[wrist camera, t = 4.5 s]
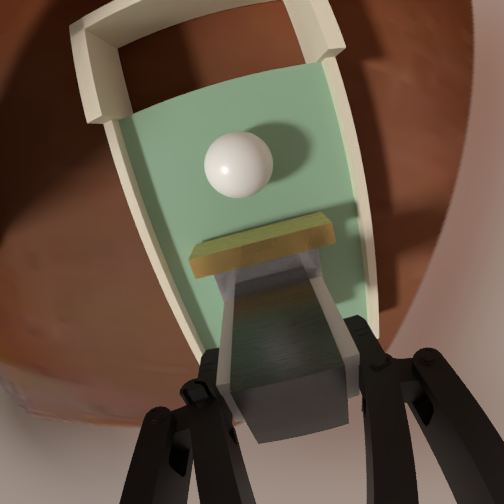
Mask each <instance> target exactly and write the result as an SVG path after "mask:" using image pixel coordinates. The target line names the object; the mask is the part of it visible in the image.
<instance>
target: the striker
mask: <svg viewBox="0 0 504 504" xmlns="http://www.w3.org/2000/svg"><path fill="white" fill-rule="evenodd" d="M333 243H336V241H335V235H334V230H333V224H332V222H331V221H330V220H329V219H328V218H327V217H326V216H325V215H324V214H323V213H322V212H321V211H320V212H316V213H313V214H309V215H305V216H301V217H297V218H293V219H289V220H285V221H281V222H278V223H274V224H270V225H266V226H262V227H259V228H255V229H251V230H247V231H244V232H240V233H236V234H232V235H229V236H225V237H221V238H218V239H214V240H210V241H207V242H203V243H200V244H196V245H195V246H194V248H193V251H192V253H191V255H190V257H189V260H188V261H189V263H190V266H191V269H192V271H193V274H194V276H195V279H198V278H202V277H206V276H210V275H214V277H215V280H216V282H217V285H218V288H219V291H220V293H221V296H222V299H223V301H225V299H227V298H232V297H234V311H233V330H232V350H231V372H230V394H231V395H232V397H233V399H234V401H235V403H236V405H237V407H238V408H239V410H240V412H241V414H242V416H243V418H244V419H245V421H246V423H247V425H248V426H249V428H250V430H251V432H252V433H253V435H254V437H255V439H256V440H257V442H258V444H260V443H265V442H272V441H278V440H283V439H289V438H293V437H298V436H303V435H307V434H312V433H315V432H320V431H324V430H328V429H331V428H335V427H339V426H342V425H345V424H348V423H349V421H348V420H349V418H348V399H347V384H346V371H345V364H344V362H343V359H342V357H341V354H340V352H339V349H338V347H337V344H336V342H335V339H334V337H333V334H332V332H331V329H330V327H329V325H328V322H327V320H326V317H325V315H324V313H323V310H322V308H321V305H320V303H319V301H318V298H317V296H316V294H315V291H314V289H313V287H312V284H311V282H310V280H309V279H313V278H317V277H322V279H323V274H322V268H321V262H320V257H319V252H318V247H322V246H326V245H329V244H333ZM323 281H324V279H323Z"/></svg>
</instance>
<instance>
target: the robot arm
mask: <svg viewBox="0 0 504 504" xmlns="http://www.w3.org/2000/svg"><path fill="white" fill-rule="evenodd" d="M309 280H310V282H311V284H312V287H313V289H314V291H315V294H316V296H317V298H318V301H319V303H320V305H321V308H322V310H323V313H324V315H325V317H326V320H327V322H328V325H329V327H330V329H331V332H332V334H333V337H334V339H335V342H336V344H337V347H338V349H339V352H340V354H341V357H342V359H343V362H344V364H345V371H346V384H347V399H348V398H351V397H354V396H358V395H359V389H360V391H361V394H362V411H363V418H364V430H365V446H366V469H367V470H366V471H367V504H419V502H418V491H417V480H416V472H415V463H414V456H413V449H412V443H411V436H410V431H409V425H408V420H407V415H406V410H405V405H404V403H407V404H408V405H409V407H410V409H411V411H412V413H413V415H414V417H415V418H416V420H417V422H418V424H419V426H420V428H421V430H422V432H423V434H424V435H425V437H426V439H427V441H428V443H429V445H430V447H431V449H432V451H433V453H434V455H435V457H436V459H437V461H438V463H439V465H440V467H441V469H442V471H443V474H444V476H445V478H446V480H447V482H448V484H449V486H450V488H451V491H452V493H453V495H454V497H455V500H456V502H457V504H504V441H503V440H502V438H501V437H500V435H499V434H498V432H497V431H496V429H495V427H494V426H493V424H492V423H491V421H490V420H489V418H488V417H487V415H486V414H485V412H484V411H483V410H482V408H481V407H480V405H479V404H478V402H477V401H476V400H475V398H474V397H473V395H472V394H471V393H470V391H469V390H468V389H467V387H466V386H465V384H464V383H463V382H462V380H461V379H460V378H459V376H458V375H457V374H456V372H455V371H454V370H453V368H452V367H451V366H450V365H449V363H448V362H447V361H446V359H445V358H444V357H443V356H442V354H441V353H440V352H439V351H437V350H436V349H433V348H423V349H420V350H419V351H417V352H416V353H415V354H414V356H413V358H406V359H396V358H392V356H390V355H389V354H387V353H385V352H384V351H383V349H382V347H381V345H380V344H379V342H378V340H377V338H376V337H375V335H374V333H373V332H372V330H371V328H370V327H369V325H368V323H367V321H366V320H365V319H364V318H362V317H361V316H359V315H355V316H351V317H348V318H344V319H343V318H342V316H341V314H340V312H339V310H338V308H337V306H336V304H335V302H334V300H333V298H332V296H331V294H330V292H329V290H328V288H327V286H326V285H325V283H324V281H323V279H322V277H317V278H313V279H309ZM233 311H234V297H232V298H227V299H225V301H224V310H223V319H222V329H221V338H220V347H219V348H213V349H207V350H206V351H205V352H204V354H203V355H202V357H201V361H200V367H199V373H198V378H197V379H192V380H190V381H188V382H187V383H185V384H184V385H183V386H182V388H181V390H180V395H181V397H182V398H183V400H184V401H185V403H186V404H187V405H186V406H184V407H181V408H179V409H176V410H173V411H170V410H169V409H168V408H166V407H161V406H160V407H155V408H153V409H151V410H150V411H149V412H148V413H147V414H146V416H145V418H144V421H143V424H142V427H141V430H140V433H139V437H138V440H137V443H136V447H135V450H134V453H133V457H132V460H131V464H130V467H129V471H128V474H127V477H126V481H125V485H124V489H123V492H122V496H121V500H120V503H119V504H187V499H188V491H189V484H190V477H191V471H192V464H193V460H194V467H195V473H196V480H197V487H198V492H199V499H200V504H256V502H255V498H254V496H253V492H252V489H251V485H250V482H249V479H248V475H247V472H246V468H245V464H244V461H243V457H242V454H241V450H240V446H239V442H238V439H237V435H236V431H235V428H234V427H233V425H232V416H233V418H234V420H235V422H237V421H244V420H245V419H244V418H243V416H242V414H241V412H240V410H239V408H238V407H237V405H236V403H235V401H234V399H233V397H232V395H231V394H230V372H231V350H232V330H233Z"/></svg>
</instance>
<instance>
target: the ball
mask: <svg viewBox="0 0 504 504" xmlns="http://www.w3.org/2000/svg"><path fill="white" fill-rule="evenodd" d="M204 169H205V174H206V177H207V179H208V181H209V183H210V184H211V186H212V187H213V188H214V189H215V190H216V191H218V192H219V193H221V194H223V195H225V196H227V197H231V198H246V197H250V196H252V195H254V194H256V193H258V192H259V191H261V190H262V189H263V188H264V187H265V186H266V184H267V183H268V181H269V179H270V177H271V175H272V171H273V158H272V154H271V152H270V150H269V148H268V146H267V145H266V143H265V142H264V141H263V140H262V139H260V138H259V137H258V136H256V135H254V134H252V133H249V132H245V131H233V132H229V133H226V134H224V135H222V136H220V137H219V138H217V139H216V140H215V141H214V142H213V143H212V144H211V145H210V147H209V149H208V151H207V153H206V156H205V161H204Z"/></svg>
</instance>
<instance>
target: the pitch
mask: <svg viewBox="0 0 504 504" xmlns="http://www.w3.org/2000/svg"><path fill="white" fill-rule="evenodd" d="M269 1H276V0H114V1H112V2H110V3H108V4H106V5H104V6H102V7H100V8H98V9H97V10H95V11H93V12H91V13H89V14H88V15H86V16H84V17H82V18H81V19H79V20H77V21H76V22H74V23H72V24H71V25H69V30H70V38H71V45H72V52H73V58H74V64H75V70H76V75H77V81H78V86H79V90H80V95H81V100H82V104H83V108H84V113H85V117H86V121H87V123H92V124H103V125H104V128H105V132H106V135H107V139H108V142H109V146H110V149H111V153H112V156H113V159H114V163H115V166H116V169H117V172H118V175H119V178H120V181H121V184H122V187H123V190H124V193H125V196H126V199H127V202H128V204H129V207H130V210H131V213H132V216H133V218H134V221H135V224H136V226H137V229H138V231H139V234H140V237H141V239H142V242H143V244H144V247H145V249H146V252H147V254H148V257H149V259H150V261H151V264H152V266H153V268H154V271H155V273H156V275H157V278H158V280H159V282H160V285H161V287H162V289H163V291H164V294H165V296H166V298H167V300H168V302H169V304H170V307H171V309H172V311H173V313H174V315H175V317H176V319H177V321H178V323H179V325H180V327H181V330H182V332H183V334H184V336H185V338H186V340H187V341H188V343H189V345H190V347H191V349H192V351H193V353H194V355H195V357H196V359H197V361H198V363H199V364H200V361H201V357H202V355H203V354H204V352H205V351H206V350H207V349H213V348H219V347H220V338H221V329H222V319H223V310H224V301H223V299H222V296H221V293H220V291H219V288H218V285H217V282H216V280H215V277H214V275H210V276H206V277H202V278H198V279H195V276H194V274H193V271H192V269H191V266H190V263H189V261H188V260H189V257H190V255H191V253H192V251H193V248H194V246H195V245H196V244H200V243H203V242H207V241H210V240H214V239H218V238H221V237H225V236H229V235H232V234H236V233H240V232H244V231H247V230H251V229H255V228H259V227H262V226H266V225H270V224H274V223H278V222H281V221H285V220H289V219H293V218H297V217H301V216H305V215H309V214H313V213H316V212H320V211H321V212H322V213H323V214H324V215H325V216H326V217H327V218H328V219H329V220H330V221H331V222H332V224H333V230H334V235H335V241H336V243H333V244H329V245H326V246H322V247H318V252H319V257H320V262H321V268H322V274H323V279H324V283H325V285H326V286H327V288H328V290H329V292H330V294H331V296H332V298H333V300H334V302H335V304H336V306H337V308H338V310H339V312H340V314H341V316H342V318H343V319H344V318H348V317H351V316H355V315H359V316H361V317H362V318H364V319H365V320H366V321H367V323H368V325H369V327H370V328H371V330H372V332H373V333H374V335H375V337H376V338H377V339H378V338H379V309H378V286H377V271H376V258H375V247H374V238H373V229H372V221H371V213H370V206H369V199H368V193H367V186H366V180H365V175H364V169H363V164H362V159H361V154H360V149H359V144H358V139H357V135H356V130H355V126H354V122H353V118H352V114H351V110H350V106H349V102H348V98H347V95H346V91H345V88H344V84H343V81H342V77H341V74H340V71H339V68H338V64H337V61H336V58H335V57H336V56H337V55H338V54H339V53H340V52H342V51H343V50H344V49H345V48H346V45H345V42H344V40H343V37H342V34H341V31H340V29H339V26H338V23H337V21H336V18H335V16H334V13H333V11H332V9H331V6H330V4H329V1H328V0H283V1H284V4H285V6H286V9H287V11H288V14H289V17H290V19H291V22H292V25H293V27H294V30H295V33H296V36H297V38H298V41H299V44H300V47H301V50H302V53H303V56H304V59H305V62H306V64H303V65H297V66H291V67H286V68H280V69H275V70H270V71H265V72H261V73H256V74H252V75H248V76H244V77H240V78H236V79H232V80H228V81H225V82H221V83H217V84H214V85H211V86H207V87H204V88H201V89H198V90H195V91H192V92H189V93H186V94H183V95H180V96H177V97H174V98H172V99H169V100H166V101H164V102H161V103H158V104H156V105H153V106H151V107H148V108H146V109H144V110H141V111H139V112H136V113H134V114H133V110H132V107H131V103H130V99H129V95H128V91H127V87H126V83H125V79H124V75H123V71H122V67H121V63H120V58H119V54H118V48H120V47H122V46H124V45H126V44H129V43H131V42H133V41H135V40H137V39H140V38H142V37H144V36H147V35H149V34H152V33H154V32H157V31H159V30H162V29H165V28H167V27H170V26H173V25H176V24H179V23H182V22H185V21H188V20H191V19H194V18H198V17H201V16H204V15H208V14H212V13H215V12H219V11H223V10H227V9H232V8H236V7H241V6H246V5H251V4H257V3H262V2H269ZM233 131H245V132H249V133H252V134H254V135H256V136H258V137H259V138H260V139H262V140H263V141H264V142H265V143H266V145H267V146H268V148H269V150H270V152H271V154H272V158H273V171H272V175H271V177H270V179H269V181H268V183H267V184H266V186H265V187H264V188H263V189H262V190H261V191H259V192H258V193H256V194H254V195H252V196H250V197H246V198H231V197H227V196H225V195H223V194H221V193H219V192H218V191H216V190H215V189H214V188H213V187H212V186H211V184H210V183H209V181H208V179H207V177H206V174H205V169H204V161H205V156H206V153H207V151H208V149H209V147H210V145H211V144H212V143H213V142H214V141H215V140H216V139H217V138H219V137H220V136H222V135H224V134H226V133H229V132H233Z"/></svg>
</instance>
